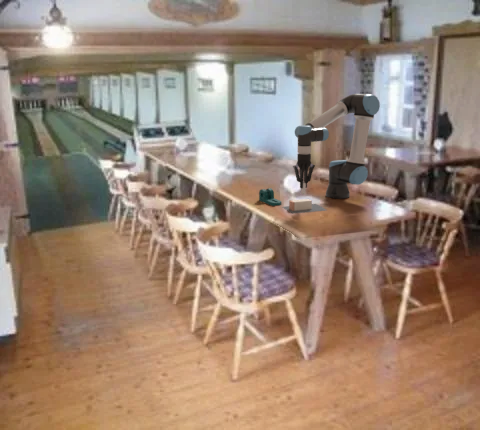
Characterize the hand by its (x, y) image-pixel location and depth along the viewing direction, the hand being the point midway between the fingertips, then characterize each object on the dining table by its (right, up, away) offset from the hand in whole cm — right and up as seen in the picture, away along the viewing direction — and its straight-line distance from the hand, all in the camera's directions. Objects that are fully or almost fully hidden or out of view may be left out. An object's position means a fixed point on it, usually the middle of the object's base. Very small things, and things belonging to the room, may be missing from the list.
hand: (303, 193), depth 302 cm
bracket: (-18, -5, +19) cm, 26 cm away
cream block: (+4, -6, +3) cm, 8 cm away
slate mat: (+1, -9, +3) cm, 10 cm away
